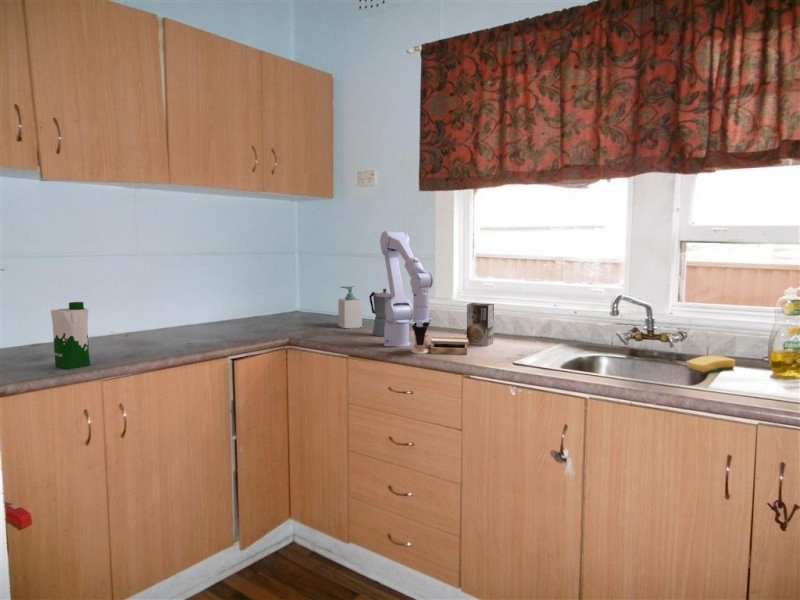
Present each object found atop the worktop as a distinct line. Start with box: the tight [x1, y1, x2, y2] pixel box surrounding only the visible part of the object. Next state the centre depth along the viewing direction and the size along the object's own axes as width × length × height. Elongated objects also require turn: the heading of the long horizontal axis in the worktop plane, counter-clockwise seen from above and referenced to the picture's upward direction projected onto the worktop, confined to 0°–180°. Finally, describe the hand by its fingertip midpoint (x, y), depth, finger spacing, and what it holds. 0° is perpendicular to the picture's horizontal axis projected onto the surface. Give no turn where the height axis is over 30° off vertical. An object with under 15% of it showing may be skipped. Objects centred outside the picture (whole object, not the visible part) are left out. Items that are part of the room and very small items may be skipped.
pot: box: [413, 331, 429, 349], centre depth 197 cm, size 5×5×6 cm
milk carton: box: [50, 301, 91, 370], centre depth 171 cm, size 9×9×20 cm
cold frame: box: [429, 343, 468, 356], centre depth 201 cm, size 13×16×2 cm
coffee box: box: [466, 302, 495, 347], centre depth 213 cm, size 9×6×16 cm
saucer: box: [411, 348, 430, 354], centre depth 198 cm, size 6×6×1 cm
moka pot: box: [368, 288, 391, 338], centre depth 232 cm, size 10×15×20 cm, turn 53°
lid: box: [430, 336, 469, 345], centre depth 205 cm, size 14×9×1 cm, turn 83°
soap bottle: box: [337, 285, 363, 329], centre depth 253 cm, size 9×9×19 cm
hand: (420, 343), depth 197 cm, fingers closed on pot, 5 cm apart
